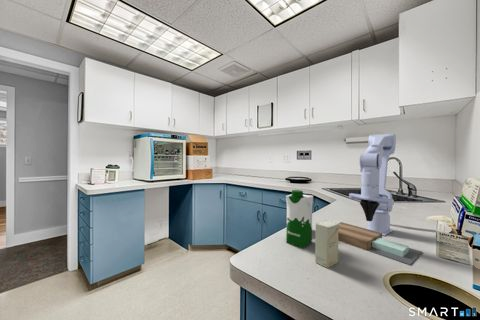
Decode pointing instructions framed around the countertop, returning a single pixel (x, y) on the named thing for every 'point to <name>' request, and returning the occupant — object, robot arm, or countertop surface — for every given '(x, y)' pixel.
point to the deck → (357, 235)
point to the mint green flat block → (390, 247)
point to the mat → (407, 259)
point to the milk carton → (299, 219)
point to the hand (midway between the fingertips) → (369, 220)
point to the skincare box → (326, 243)
